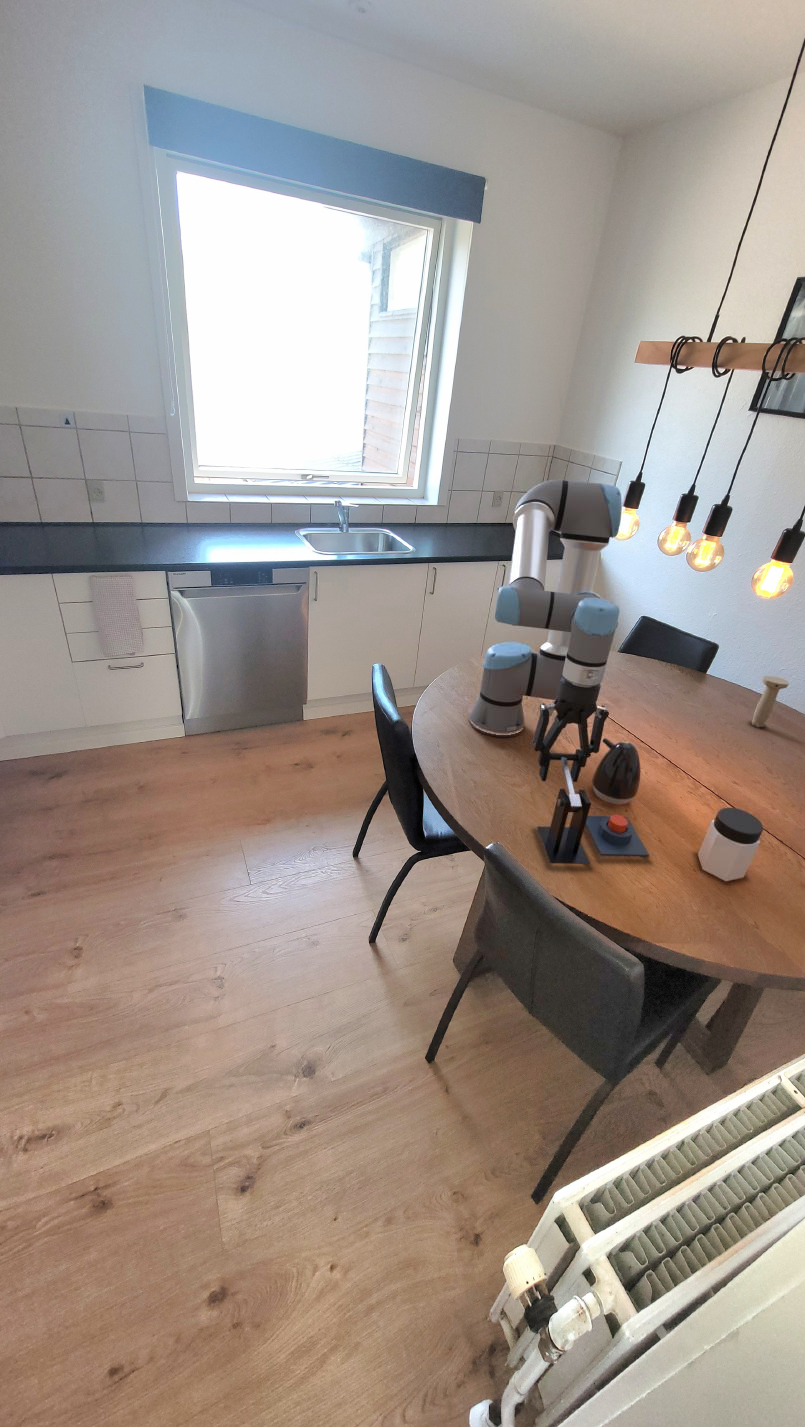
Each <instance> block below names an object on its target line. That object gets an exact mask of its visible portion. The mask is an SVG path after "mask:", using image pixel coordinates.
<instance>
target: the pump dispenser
mask: <svg viewBox="0 0 805 1427" xmlns="http://www.w3.org/2000/svg"><path fill="white" fill-rule="evenodd" d="M602 743H603V744H604V745H605V746H607V747H608V748H609V749H608V750H607V751H606V752H605V753H604V755H603V756H602V758H601V759H600V761H599V763H598V764H597V766H596V769H595V770H594V772H593V775H592V779H591V783H592V788H593V792H594V794H595V796H596V797H597V798H599V799H600V800H601V801H603V802H605V803H608V804H612V805H616V806H617V805H619V806H621V805H622V806H623V805H626V804H628V803H630V802H631V801H632V800H633V799H634V797H636V796H637V794H638V792H639V788H640V783H641V760H640V755H639V752H638V750H637V748H636V746H635V745H634V744H632V743H631V742H629V741H619V742H617V743H613V742H612V741H611V740H610V739H608V738H607V737H603V739H602Z"/></svg>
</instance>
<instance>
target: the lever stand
mask: <svg viewBox="0 0 805 1427" xmlns="http://www.w3.org/2000/svg"><path fill="white" fill-rule="evenodd" d="M577 794H579V796H580V800H581V804H582V807H581V809H580V810H579V812H572V816H571V820H570V822H569V823H570V825H569V826H566V823H567V820H568V816H569V813H570V812H569V808H570V804H571V802H570V799H569V797H568V793H567V790H566V789H565V788H559V790H558V794H557V798H556V802H555V806H554V811H553V814H552V818H551V823H550V826H538V825H537V826H536V829H537V832H538V834H539V836H540V839H541V842H542V844H543V848H544V850H545V853H546V855H547V858H548V860H549V863H550V864H563V865H565V864H566V865H567V864H568V865H569V864H570V865H575V864H576V865H590V864H591V863H590V860H589V858H588V856H587V854H586V852H585V850H584V848H583V847H584V846H583V845H582V843H581V842H582V837H583V834H584V830H585V827H586V820H587V817H588V816H589V813H590V810H591V806H592V801H591V800H590V798H589V796H588V794H587V792H586V790H585V789H583V788H580V789H579V790H578V793H577Z"/></svg>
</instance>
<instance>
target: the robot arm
mask: <svg viewBox="0 0 805 1427" xmlns="http://www.w3.org/2000/svg"><path fill="white" fill-rule="evenodd" d="M622 500H623V499H622V493H621V490H620V489H619V487H617V486H615V485H613V484H612V485H611V484H605V483H602V482H587V481H586V482H585V481H573V480H563V479H549V480H545V481H543V482H541V483H539V484H536V485H535V486H533V487H532V488H531V489H529V490H528V491H527V492H526V493H525V494H523V496H522V497H521V498H520V499H519V501H518V502H517V504H516V507H515V509H514V511H513V516H512V526H513V529H514V530H515V533H514V540H513V549H512V555H511V563H510V569H509V570H510V571H509V577H508V585H501V586H500V587H499V588H498V591H497V599H496V606H495V611H494V620H495V621H496V622H497V623H501V624H505V625H509V626H510V625H511V626H512V627H513V626H514V627H524V628H534V629H543V630H548V637H547V641H546V642H545V643H544V644H541V646H540V647H539V653H537V652H533V651H532V648H531V647H530V646H529V645H527V644H526V643H524V644H523V642H515V641H506V642H500V643H497V644H494V645H492V646H490V647H489V648H488V649H487V651H486V653H485V658H484V661H483V665H482V666H483V672H482V677H481V683H480V685H481V686H480V689H479V690H480V691H479V696H478V697H477V700H476V701H475V704H474V705H473V707H472V709H471V711H470V714H469V720H468V721H469V724H470V726H471V727H472V728H473V729H474V730H476V731H477V732H478V733H480V734H483V735H485V736H489V737H494V738H512V737H513V738H514V737H516V736H519V735H520V734H522V733H523V731H524V728H525V715H524V708H523V698H524V697H530V698H537V699H542V700H551V701H553V702H552V703H550V704H545V703H544V702H542V703H540V704H539V717H538V721H537V724H536V728H535V731H534V735H533V739H532V741H531V744H532V746H533V747H532V748H533V749H534V751H535V752H538V757H537V763H538V766H539V770H538V771H539V772H538V775H539V777H540V779H541V781H542V782H547V777H548V773H549V768H550V764H551V761H552V760H551V756H552V755H551V753H552V752H551V750H552V748H553V747H554V744H555V743H556V741H557V740H558V738H559V737H560V734H561V732H562V731H563V729H565V728H566V727H567V725H569V724H575V725H577V729H578V730H577V731H578V739H579V748H577V749H575V753H574V754H577V755H578V760H577V761H572V763H571V764H572V765H571V768H570V775H571V779H572V783H578V781H579V777H580V772H581V769H582V768H585V767H586V764H587V761H588V759H589V758H590V757H591V756H592V754H593V753H594V754H598V753H599V751H600V747H601V742H602V738H603V733H604V728H605V722H606V720H607V719H608V717H609V716H610V712H609V710H608V708H606V706H605V705H600V706H599V705H597V702H598V698H599V694H600V691H601V688H602V687H601V686H602V685H601V683H602V682H603V679H604V675H605V671H606V668H607V662H608V659H609V655H610V651H611V647H612V645H613V641H614V637H615V634H616V631H617V628H618V626H619V622H618V620H619V616H620V607H619V606H618V604H617V603H615V602H613V601H612V600H608V599H606V598H605V599H604V598H602V597H601V595H599V594H598V593H596V592H595V591H593V590H594V586H595V580H596V574H597V571H598V565H599V561H600V555H601V552H602V551H603V550H604V549H605V548H606V547H608V546H609V544H610V540H611V539H613V538H616V537H617V536H618V534H619V532H620V526H621V521H622V510H623V509H622V508H623V502H622ZM551 531H553V532H560V537H559V540H560V543H562V545H563V546H564V550H563V554H562V559H561V561H562V562H561V566H560V572H559V576H558V583H557V588H556V591H551V590H545V589H546V588H545V587H546V586H545V585H546V577H547V576H546V575H547V563H548V552H549V549H548V548H549V540H550V538H549V536H550V532H551ZM610 538H611V539H610ZM554 711H555V712H556V715H555V716H554V721H553V722H552V724H551V726H550V728H549V729H548V726H549V723H550V717H552V715H553V712H554ZM593 715H594V719H593V724H592V729H591V735H590V738H589V730H588V728H589V724H588V719H589V718H591V717H592V716H593ZM470 719H471V721H472V722H473V723H474V724H475V725H476V726H479V728H481V729H484V730H487V731H491V732H494V733H500V734H501V733H502V734H509V733H515V732H517V731H520V730H521V729H522V728H523V727H524V728H523V729H522V730H521V731H520V732H518V733H515V734H511V735H496V734H491V733H487V732H484V731H482V730H480V729H478V728H476V727H475V726H474V725H473V724H472V723H471V721H470ZM547 729H548V731H547ZM589 739H590V740H589Z"/></svg>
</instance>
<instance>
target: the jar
mask: <svg viewBox="0 0 805 1427" xmlns="http://www.w3.org/2000/svg"><path fill="white" fill-rule="evenodd" d="M763 831H764V826H763V824H762V822H761V821H760V820H759V819H758V817H756V816H755V815H754V814H751V813H750V812H748V811H746V810H743V809H740V808H736V807H723V808H721V809H719V810H718V811H717V814H716V815H715V818H714V819H712V820H711V821H710V824H709V826H708V829H707V831H706V834H705V836H704V837H703V838H704V839H703V841H702V844H701V846H700V848H699V851H698V853H697V857H698V859H699V863H700V866H701V870H703V871H705V872H706V873H709V874H711V875H712V876H714V877H716V878H718V879H720V880H722V881H724V882H729V881H733V880H738V879H739V880H740V879H743V878H744V877H745V875H746V873H747V872H748V869H749V867H750V865H751V863H752V861H753V860H754V856H755V854H756V852H757V850H758V848H759V846H760V844H761V841H760V838H761V835H762V833H763Z"/></svg>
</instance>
